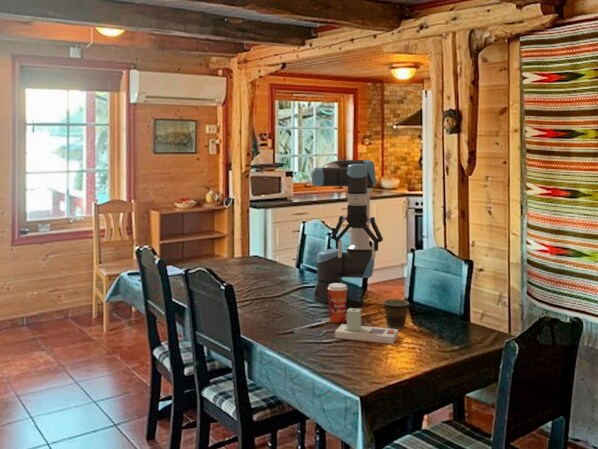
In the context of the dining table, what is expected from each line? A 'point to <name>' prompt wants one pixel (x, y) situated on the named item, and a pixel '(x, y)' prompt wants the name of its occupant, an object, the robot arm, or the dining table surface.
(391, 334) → the power strip
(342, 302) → the coffee cup
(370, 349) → the dining table surface
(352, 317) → the block
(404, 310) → the ceramic cup
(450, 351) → the dining table surface
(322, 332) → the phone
